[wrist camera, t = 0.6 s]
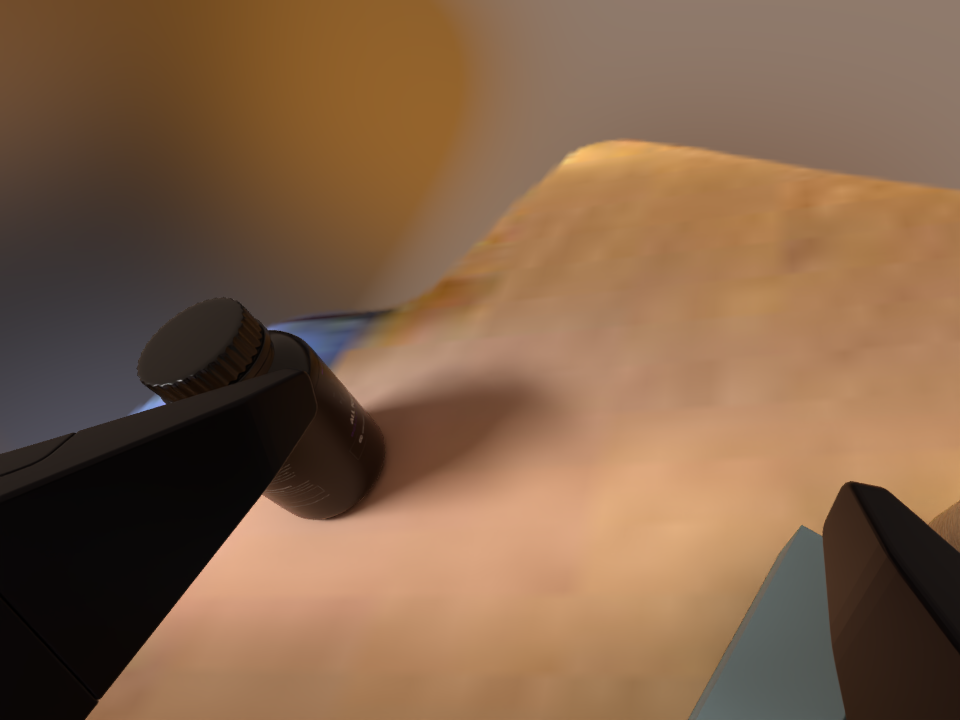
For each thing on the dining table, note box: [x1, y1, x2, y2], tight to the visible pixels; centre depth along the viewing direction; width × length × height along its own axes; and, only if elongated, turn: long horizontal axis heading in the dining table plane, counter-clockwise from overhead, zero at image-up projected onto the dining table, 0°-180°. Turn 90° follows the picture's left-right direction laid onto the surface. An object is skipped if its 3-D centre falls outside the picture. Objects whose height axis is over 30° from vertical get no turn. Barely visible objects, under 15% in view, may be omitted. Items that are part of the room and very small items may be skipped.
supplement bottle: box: [137, 297, 385, 520], centre depth 24 cm, size 7×7×12 cm
